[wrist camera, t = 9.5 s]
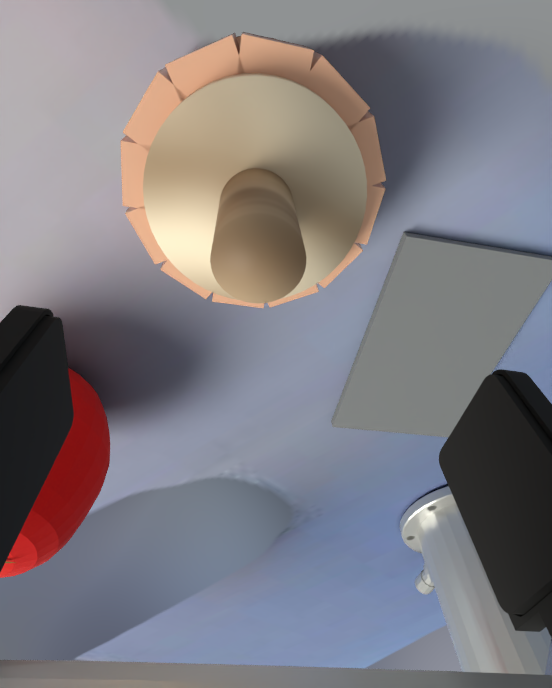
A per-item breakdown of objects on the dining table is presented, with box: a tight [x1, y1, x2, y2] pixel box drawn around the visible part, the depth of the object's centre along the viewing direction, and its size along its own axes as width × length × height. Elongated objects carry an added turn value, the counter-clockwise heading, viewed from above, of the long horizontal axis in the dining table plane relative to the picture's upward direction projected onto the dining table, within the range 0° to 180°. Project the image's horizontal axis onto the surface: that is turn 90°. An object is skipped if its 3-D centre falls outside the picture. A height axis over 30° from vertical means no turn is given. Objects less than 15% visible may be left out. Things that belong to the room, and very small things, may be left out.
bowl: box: [121, 32, 386, 308], centre depth 20 cm, size 11×11×4 cm
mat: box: [331, 232, 552, 437], centre depth 29 cm, size 16×10×1 cm, turn 169°
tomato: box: [0, 368, 110, 578], centre depth 25 cm, size 11×11×13 cm
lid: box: [143, 73, 367, 303], centre depth 16 cm, size 9×9×6 cm
